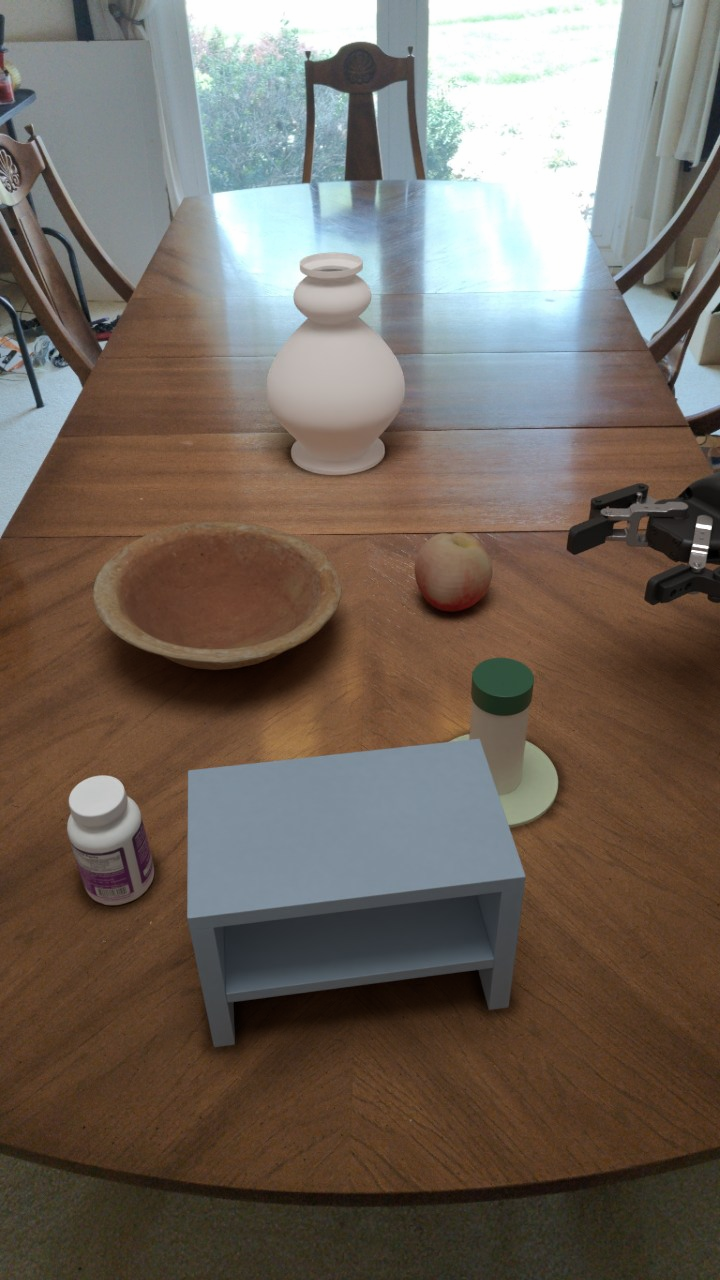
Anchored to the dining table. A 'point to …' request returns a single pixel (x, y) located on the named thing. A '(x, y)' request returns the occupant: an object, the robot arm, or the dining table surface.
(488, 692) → the spice bottle
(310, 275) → the decorative vase
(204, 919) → the shelf
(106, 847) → the pill bottle
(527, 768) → the mat
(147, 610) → the bowl
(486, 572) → the fruit
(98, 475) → the dining table surface
